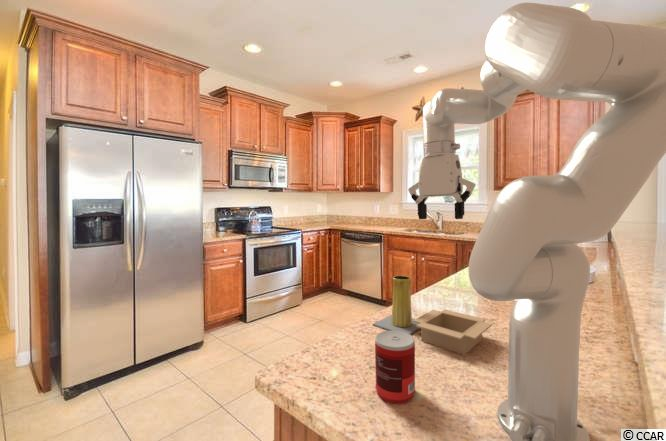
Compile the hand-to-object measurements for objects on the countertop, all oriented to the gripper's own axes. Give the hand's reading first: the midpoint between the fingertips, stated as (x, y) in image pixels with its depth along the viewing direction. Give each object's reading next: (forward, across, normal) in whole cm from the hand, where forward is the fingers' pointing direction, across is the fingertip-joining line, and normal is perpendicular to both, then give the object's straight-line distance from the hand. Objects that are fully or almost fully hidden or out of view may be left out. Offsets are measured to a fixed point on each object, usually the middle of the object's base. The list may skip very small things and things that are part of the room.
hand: (440, 219), depth 81 cm
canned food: (+34, -2, +24) cm, 42 cm away
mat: (+32, +16, -6) cm, 37 cm away
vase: (+32, +16, -6) cm, 36 cm away
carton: (+33, 0, -6) cm, 33 cm away
